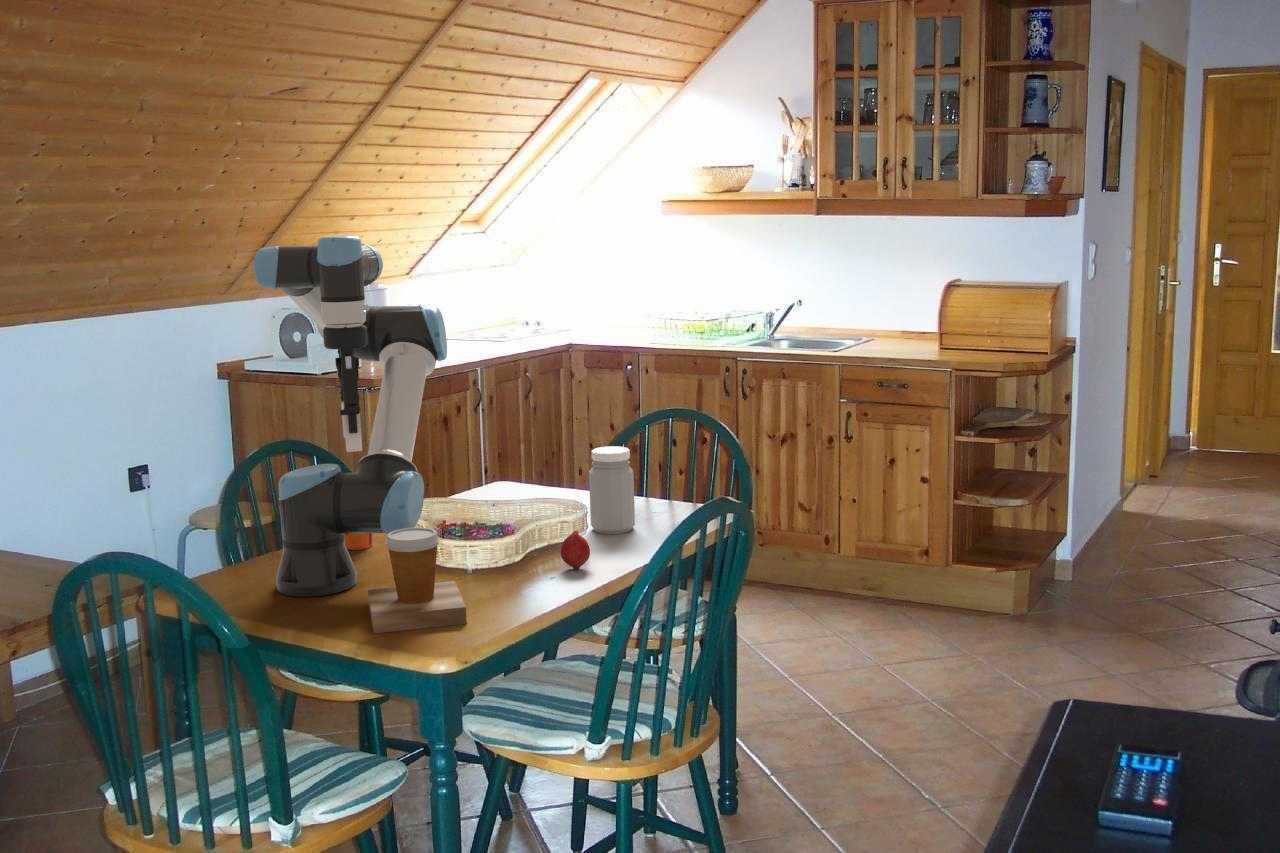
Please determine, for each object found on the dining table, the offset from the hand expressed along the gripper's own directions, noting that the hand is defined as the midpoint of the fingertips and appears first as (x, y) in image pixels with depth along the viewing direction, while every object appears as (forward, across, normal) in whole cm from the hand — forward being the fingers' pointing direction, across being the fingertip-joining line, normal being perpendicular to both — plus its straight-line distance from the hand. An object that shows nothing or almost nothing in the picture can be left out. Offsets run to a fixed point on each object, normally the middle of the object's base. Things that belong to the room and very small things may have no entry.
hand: (352, 444), depth 232 cm
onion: (+31, +12, -42) cm, 54 cm away
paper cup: (+31, +44, -1) cm, 54 cm away
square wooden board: (+31, -6, -9) cm, 33 cm away
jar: (+31, +39, -56) cm, 75 cm away
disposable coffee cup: (+28, -6, -9) cm, 30 cm away
